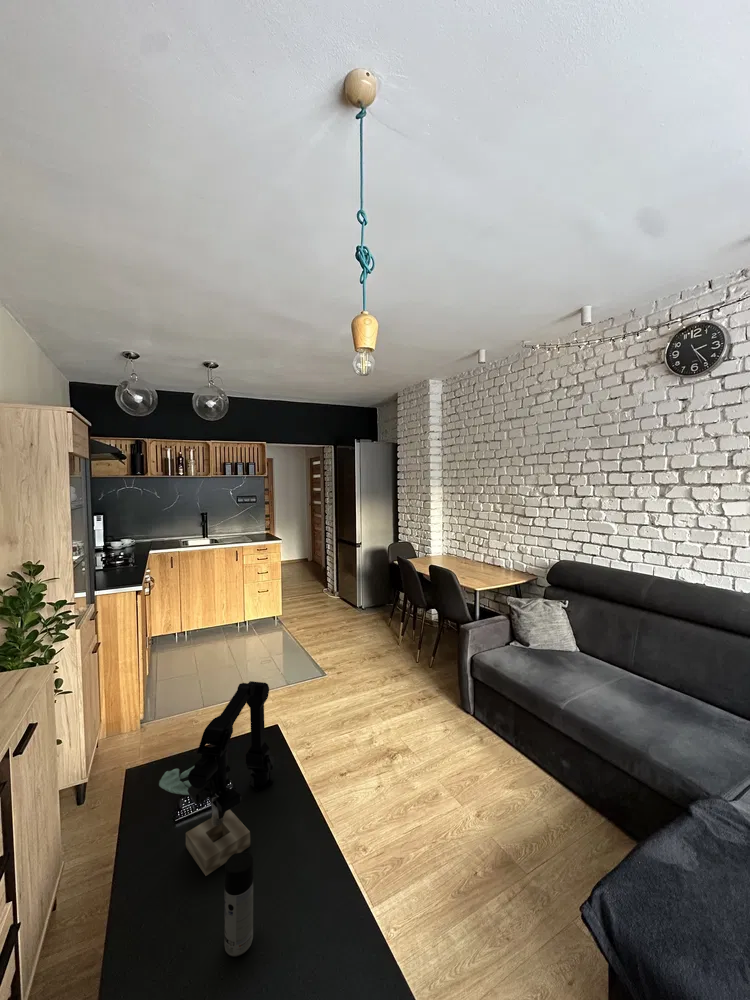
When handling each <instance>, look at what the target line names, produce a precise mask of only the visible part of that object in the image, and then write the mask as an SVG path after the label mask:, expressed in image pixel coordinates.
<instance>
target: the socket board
mask: <svg viewBox="0 0 750 1000" xmlns="http://www.w3.org/2000/svg"><path fill="white" fill-rule="evenodd" d="M249 847H251V831H250V830H249V829H248V828H247V827H246V825H244V824H243V822H242V821H241V820H240V818H238V816H237V815H236V814H235V813H234V812H233V811H232V810H231V809H229V810H228V811H226V812H225V814H224V822H223V823H222V824H220V825H218V826H214V825H213V824H212V817H211V818H208V819H207V820H205V821H203V822H202V823H200V824H198V825H196V826H195V827H193V828H192V829H190V830H188V831H186V832H185V848H186V849H187V851H188V852H189V854H190V855H191V857H192V858H193V860H194V862H195V863H196V864H197V866H198V867H199V868H200V870H201V871H202V873H203V874H204V875H205V877H206V876H208V875H210V874H211V873H212V872H214V871H216V870H217V869H219V868H220V867H221V866H223V865H225V864H226V862H227V860H228V859H229V858H230V857H231V856H232V855H233V854H235V853H236V854H237V853H241V852H245V850H246V849H248V848H249Z"/></svg>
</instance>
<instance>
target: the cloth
mask: <svg viewBox="0 0 750 1000" xmlns="http://www.w3.org/2000/svg"><path fill="white" fill-rule="evenodd" d="M193 768H194V765H193V766H191V767H190V768H188V769H185V770H184V771H182V773H180V769H179V768H174V769H172V770H167V771H165V772H164V774H163V775H162V776H161V778H160V779H159V781H158V786H159V787H160V788H161V789H163V790H165V791H166V792H168V793H171V794H176V795H183V796H190V795H189V793H188V788H189V787H190V786H192V785H191V784H190V782H189V780H185V781H182V779H185V778H188V775H189V772H190V771H191V770H192V769H193Z"/></svg>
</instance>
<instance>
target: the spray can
mask: <svg viewBox="0 0 750 1000" xmlns="http://www.w3.org/2000/svg"><path fill="white" fill-rule="evenodd" d="M223 923H224V927H223V928H224V930H223V931H224V939H223V940H224V951H225V953H226V954H227V955H228V956H230V957H231V958H232V957H233V958H234V957H236V958H237V957H240V956H242V955H243V954H246V953H247V951H248V950H249V949H250V948H251V945H252V943H253V939H254V857H253V855H252V854H251V853H250V852H245V851H242V852H241V853H237V854H236V853H235V854H233V855H232V856H231V857H230V858H229V859H228V860H227V862H226V863H225V864H224V921H223Z"/></svg>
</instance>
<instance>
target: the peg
mask: <svg viewBox="0 0 750 1000" xmlns="http://www.w3.org/2000/svg"><path fill="white" fill-rule="evenodd" d="M217 798H218V797H217V796H216V794H213V795H212V802H213V801H215V800H217ZM211 818H212V824H213V825H214V826H218V825H220V824H222V823H223V822H224V816H223V818H221V819H219V816H218V810H217V807H215V805H214V804H213V803H212V806H211Z"/></svg>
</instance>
